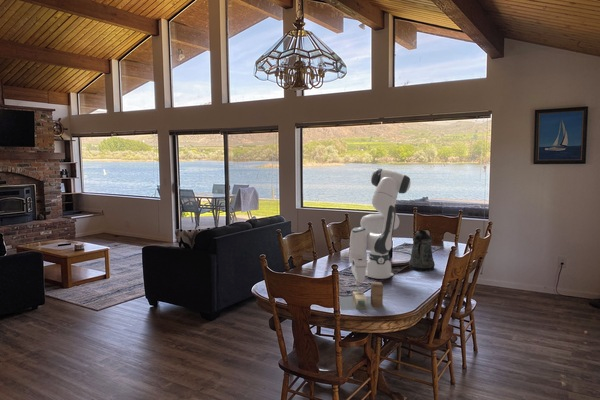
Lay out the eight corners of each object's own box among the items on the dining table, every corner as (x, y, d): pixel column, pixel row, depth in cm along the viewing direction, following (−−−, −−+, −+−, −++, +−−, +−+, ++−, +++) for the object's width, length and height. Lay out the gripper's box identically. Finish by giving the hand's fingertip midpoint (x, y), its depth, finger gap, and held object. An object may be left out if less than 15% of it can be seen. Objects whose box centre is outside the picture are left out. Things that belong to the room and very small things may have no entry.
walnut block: (370, 303, 221) (371, 282, 220) (380, 303, 222) (380, 282, 220) (372, 306, 216) (373, 285, 215) (382, 306, 217) (383, 285, 215)
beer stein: (432, 265, 295) (434, 229, 292) (436, 273, 276) (438, 234, 273) (407, 264, 298) (409, 228, 295) (409, 272, 279) (411, 233, 276)
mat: (336, 297, 231) (336, 296, 231) (377, 297, 232) (377, 296, 232) (341, 310, 212) (341, 309, 212) (386, 310, 213) (386, 309, 213)
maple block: (352, 291, 224) (356, 298, 213) (362, 291, 224) (366, 298, 213) (352, 300, 225) (356, 308, 214) (362, 300, 225) (366, 308, 214)
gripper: (348, 254, 234) (348, 279, 236) (355, 264, 214) (354, 291, 215) (360, 254, 234) (359, 279, 236) (367, 264, 214) (367, 291, 216)
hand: (357, 285), depth 225 cm, fingers closed
